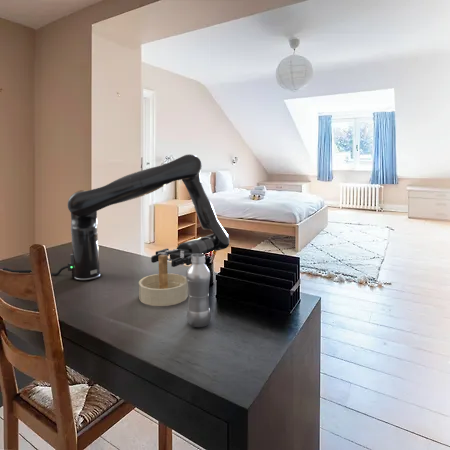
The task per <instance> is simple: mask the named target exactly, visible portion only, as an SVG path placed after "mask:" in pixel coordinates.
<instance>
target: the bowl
mask: <svg viewBox="0 0 450 450" xmlns="http://www.w3.org/2000/svg"><path fill="white" fill-rule="evenodd" d="M138 298H139V299H138V300H139V301H140V302H141V303H142V304H144V305H146V306H150V307H170V306H175V305H178V304H181V303H183V302H184V301H186V300H187V299H188V298H189V293H188V284H187V278H186V275H182V274H180V273H179V274H178V273H171V272H168V288H167V289H159V273H154V274H150V275H146V276H144V277H142V278H141V279H140V280H139V281H138Z"/></svg>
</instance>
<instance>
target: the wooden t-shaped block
mask: <svg viewBox="0 0 450 450" xmlns="http://www.w3.org/2000/svg"><path fill="white" fill-rule="evenodd" d="M158 258H159V261H158V274H159V289H167V288H168V273H169V272H168V261H167V255H163V254H162V255H159V256H158Z"/></svg>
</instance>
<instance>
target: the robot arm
mask: <svg viewBox="0 0 450 450" xmlns="http://www.w3.org/2000/svg"><path fill="white" fill-rule="evenodd" d="M202 166H203V165H202V161H201V159H200V158H199V157H198V156H197V155H195V154H188V153H187V154H184V155H182V156H180V157H178V158H176V159H174V160H171V161H169V162H167V163H164V164H161V165H157V166H153V167H148V168H146V169H142V170H138V171H136V172H132V173H129V174H125V175H124V176H121V177H120V178H119V177H118V179H115V180H113V181H111V182H110V183H107V184H106V185H103V186H100V187H96V188H93V189H89V190H85V189H81V190H80V189H79V190H77V191H76V192H75V191H74V193H73V194H71V195H70V196H69V198H68V200H67V209H68V211H69V212H70V236H71V248H72V253H70V262H68V263H67V265H65V266H62V267H60V268H59V269H58V271H57V272H50V273H51V275H50V276H58V275H60V274H61V273H62V271H64V270H65V269H67V271H68V272H71V279H73V280H76V281H78V282H79V281H80V282H81V281H82V282H85V281H93V280H96V279H98V278H100V277H101V270H100V269H101V268H100V267H101V266H100V250H99V235H98V211H100V210H102V209H104V208H107V207H109V206H112V205H116V204H120V203H124V202H128V201H131V200H134V199H138V198H141V197H143V196H146V195H149V194H151V193H154V192H156V191H157V190H159V189H161V188H163V187H165V186H167V185H169V184H171V183H174V182H177V181H178V182H179V181H182V183H183V184H184V185H185V188H186V190H187V192H188V195H189V197H190V199H191V202H192V204H193V207H194V211H195V213H196V216H197V219H198V221H199V224H200V227H201V229H202V230H204V231H205V230H206V231H207V230H209V231H211V232H212V233H210V234H208V235H206V236H202V237H199V238H195V239H191V240H187V241H185V242H182V243H180V244H178V246H176V248H173V249H169V248H168V247H167V248H164V249H160V250H156V251H155V254H154V255H152V256H151V257H150V261H151V263H153V264H154V263H158V262H159V258H158V256H159V255H162V254H163V255H167V262H171V263H170V265H171V266H170V267H172V268H175V267H177V266H184V265H185V266H191V264H192V262H191V256H192V254H202V253H208V252H210V251H213V250H214V251H215V252H218V251H221V250H225V249H227V248H228V247H229V246H230V241H231V240H230V236H229V234H228V233H227V231H226V230H225V228H224V227H223V226H222V224H221V223H220V221H219V219H218V218H217V215H216V212H215V209H214V206H213V204H212V202H211V201H210V198H209V197H208V195H207V193H206V191H205V189H204V187H203V183H202V180H201V175H200V173H201V171H202ZM1 269H3V271H8V272H10V271H11V272H12V273H32V272H31V270H32V269H13V268H9V267H2V268H1ZM11 272H10V273H11Z"/></svg>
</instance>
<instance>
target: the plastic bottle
mask: <svg viewBox="0 0 450 450" xmlns="http://www.w3.org/2000/svg"><path fill="white" fill-rule="evenodd" d="M191 262H192V264H190V265H189V266H188V268H187V270H186V273H185V277H186V278H187V284H188V302H187V303H188V304H187V311H186V320H187V323H188V324H189V326H191V327H193V328H204V327H207V326H209V324H210V323H211V318H212V312H211V308H210V299H209V296H210V295H209V292H210V290H209V289H210V281H211V271H210V268H208V266H207V264H206V256H205V255H204V254H192V256H191Z"/></svg>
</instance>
